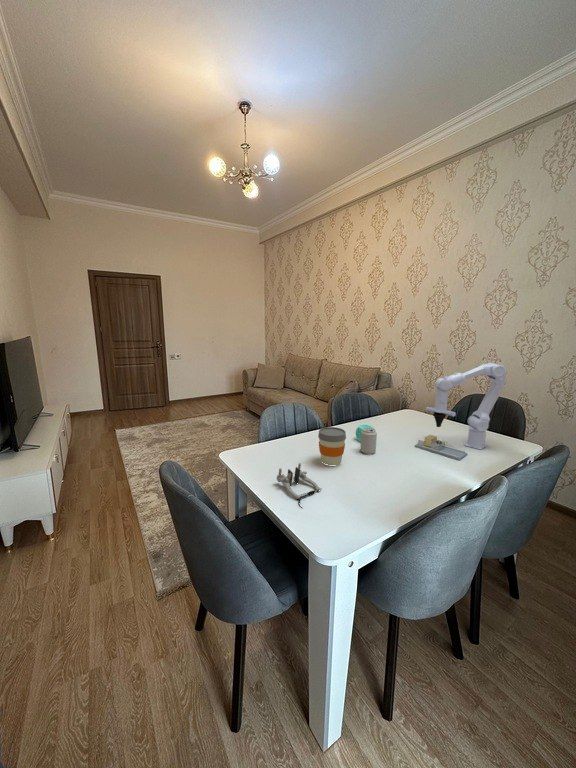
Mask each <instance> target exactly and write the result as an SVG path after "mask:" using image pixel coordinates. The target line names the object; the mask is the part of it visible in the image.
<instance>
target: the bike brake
mask: <svg viewBox="0 0 576 768" xmlns="http://www.w3.org/2000/svg"><path fill="white" fill-rule="evenodd" d="M301 467H302V463H301V462H298V466H295V468H294V469H295V470H294V472H293V471H292V470H291V469H290V468H288V469H287V476H286V475H285V474H282V468H281V467H279V468H278V475H276V481H277V483H281V484H282V485H283V486H284V487H285V489H286V491H287V492H288V493H289V495H291V496H292V497H293V498H294V499H295V500H297V499H299V500H298V504H299V503H300V504H301V500H302V499H303V497H305V496H307V497H308V495H309V496H311V495H314V494H315V493H316V492H317V491H319V490H320V491H321V490H322V489H323V488H322V487H319V486H318V484H317V483H316V482H315V481H313V480H312V479H311V478H309V477H308V476H307V473H308V471H302V470H301ZM293 475H294V478H293ZM300 479H301V480H302V481H304V482H306V483H308V484H310V485H311V486H313V488H315V489H314V490H310V491H309V492H304V493H301V494H297V493H295V492H294V491H293V490H292V488H291V487H292V485H293V482H294V481H295V482H296V483H298V484H299V481H300ZM295 482H294V483H295ZM296 483H295V484H296ZM290 486H291V487H290ZM314 492H315V493H314ZM310 494H311V495H310ZM301 498H302V499H301Z"/></svg>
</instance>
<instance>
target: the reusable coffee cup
mask: <svg viewBox="0 0 576 768" xmlns="http://www.w3.org/2000/svg"><path fill="white" fill-rule="evenodd" d="M318 430H319V431H318V434H317V435H318V436H317V438H318V449H319V453H320V460H321V463H322V462H323V463H325V464H328V465H339V464H340V463H341V464H342V459H343V455H344V453H345V448H346V447H345V446H346V439H347V434H346V430H345V429H343V428H340V427H335V426H327V427H326V426H325V427H321V428H320V429H318ZM323 463H322V464H323ZM341 464H340V465H341ZM340 465H339V466H340Z"/></svg>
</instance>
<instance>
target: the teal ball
mask: <svg viewBox="0 0 576 768" xmlns="http://www.w3.org/2000/svg"><path fill="white" fill-rule="evenodd" d="M367 427H368V428H374V429H375V427H374V426H373V425H370V424H360V425H359V426H357V428H356V430H355V438H356V439H357V440H358V442H359V441H360V442H359V443H361V431H362V430H363V428H367Z"/></svg>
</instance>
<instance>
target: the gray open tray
mask: <svg viewBox="0 0 576 768" xmlns="http://www.w3.org/2000/svg"><path fill="white" fill-rule="evenodd" d="M425 437H426V436H423V437H421V438H419V439H418V440H417V443H416V444H415V445H414V448H417V449H421V450H422V451H426V452H430V453H432V454H436V455H439V456H441V457H442V456H443V457H446V458H449V459H452V460H455V461H461V460H463V459H464V458H465V457H467V456H468V455H469V454H468V452H466V451H465V450H461V449H459V448H458V449H457V448H456V447H455V448H454V447H452V446H448V445H445V448H443V449H441V450H439V451H438V450H435V449H432V448H428V447H425V446H424V439H425Z"/></svg>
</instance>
